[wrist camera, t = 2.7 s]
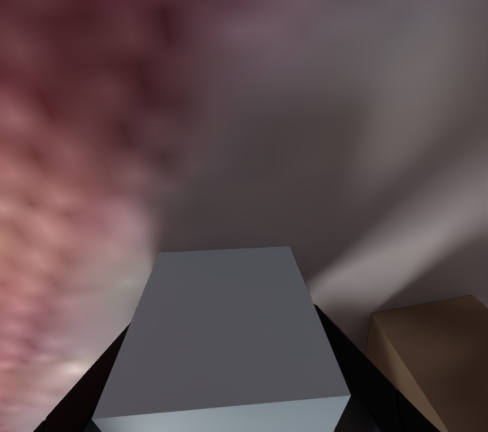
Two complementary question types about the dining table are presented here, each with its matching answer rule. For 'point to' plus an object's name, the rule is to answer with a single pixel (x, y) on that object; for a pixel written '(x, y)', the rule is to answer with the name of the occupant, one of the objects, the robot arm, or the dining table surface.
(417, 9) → the dining table surface
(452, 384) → the walnut block
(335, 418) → the grey cube
